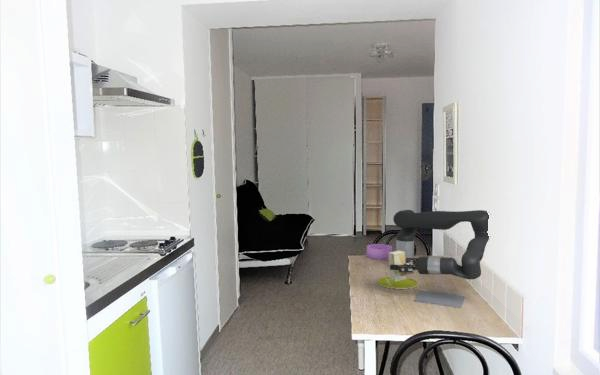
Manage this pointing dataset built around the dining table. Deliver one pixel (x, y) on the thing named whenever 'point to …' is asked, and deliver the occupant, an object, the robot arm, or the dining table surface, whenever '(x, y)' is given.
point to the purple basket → (378, 251)
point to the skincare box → (397, 259)
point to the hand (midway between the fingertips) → (392, 264)
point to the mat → (440, 298)
